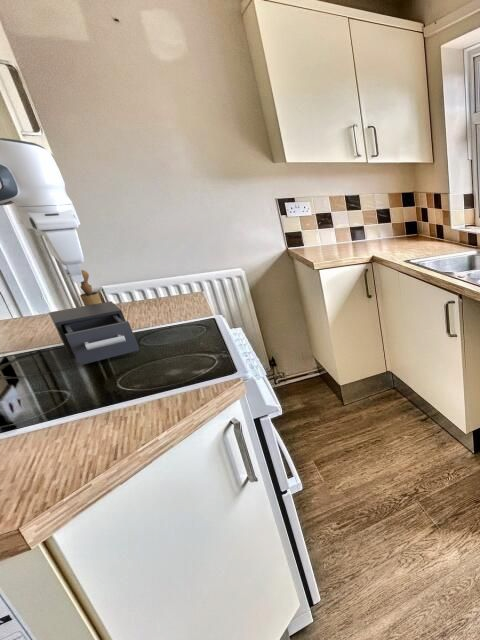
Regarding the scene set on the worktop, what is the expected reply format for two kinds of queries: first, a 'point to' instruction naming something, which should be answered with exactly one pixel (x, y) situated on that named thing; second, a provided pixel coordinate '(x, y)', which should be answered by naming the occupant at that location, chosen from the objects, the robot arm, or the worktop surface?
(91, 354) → the drawer
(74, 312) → the cabinet
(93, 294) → the mortar and pestle
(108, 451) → the worktop surface
